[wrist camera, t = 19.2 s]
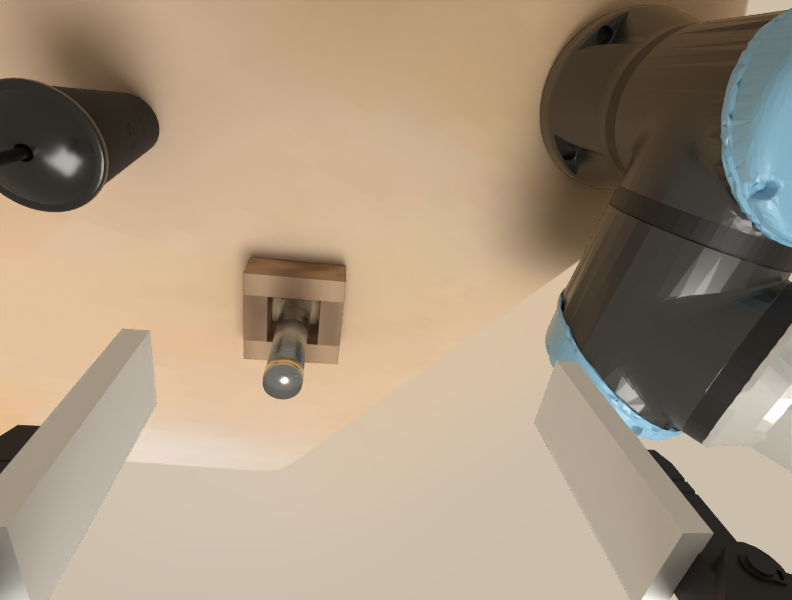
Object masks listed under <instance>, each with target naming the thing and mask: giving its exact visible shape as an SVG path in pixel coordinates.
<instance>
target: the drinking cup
mask: <svg viewBox="0 0 792 600" xmlns="http://www.w3.org/2000/svg"><path fill="white" fill-rule="evenodd" d="M158 136H159V124H158V121H157V118H156V116H155V114H154V112H153V110H152V109H151V108H150V107H149V106H148V105H147V104H146V103H145V102H144V101H143V100H141V99H140V98H138V97H136V96H134V95H131V94H126V93H117V92H107V91H97V90H87V89H77V88H67V87H57V86H50V85H47V84H45V83H42V82H39V81H35V80H31V79H24V78H5V79H0V193H1V194H3V195H4V196H6V197H7V198H9V199H11V200H12V201H14V202H16V203H18V204H21V205H23V206H26V207H29V208H32V209H35V210H40V211H45V212H65V211H71V210H74V209H77V208H79V207H82V206H84V205H85V204H87V203H89V202H90V201H92V200H93V199H94V198H95V197H96V196H97V195H98V194H99V193H100V191H101V190H102V188H103V186H104V185H105V184H106V183H107V182H108V181H110V180H111V179H112V178H114V177H115V176H116V175H117V174H119V173H120V172H121V171H122V170H124V169H125V168H126V167H128V166H129V165H130V164H131V163H133V162H134V161H135V160H137V159H138V158H139V157H140V156H142V155H143V154H144V153H145V152H147V151H148V150H149V149H151V148H152V147H153V146H154V145H155V143H156V141H157V139H158Z"/></svg>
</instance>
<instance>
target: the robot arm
mask: <svg viewBox="0 0 792 600" xmlns="http://www.w3.org/2000/svg"><path fill="white" fill-rule="evenodd" d="M540 126H541V133H542V137H543V141H544V144H545V147H546V149H547V151H548V153H549V155H550V157H551V159H552V160H553V162H554V163H555V164H556V165H557V166H558V167H559V169H560V170H562V171H563V172H564V173H565V174H567V175H568V176H570V177H571V178H573V179H575V180H577V181H579V182H581V183H583V184H586V185H588V186H591V187H595V188H599V189H607V190H616V191H615V193H614V195H613V197H612V199H611V201H610V203H609V204H608V206H607V208H606V210H605V212H604V214H603V216H602V218H601V220H600V222H599V224H598V226H597V228H596V230H595V232H594V234H593V236H592V238H591V240H590V242H589V244H588V246H587V248H586V250H585V252H584V254H583V256H582V258H581V260H580V262H579V264H578V266H577V268H576V270H575V271H574V273H573V275H572V277H571V279H570V281H569V283H568V285H567V287H566V288H565V289H564V290H563V291H562V293H561V294H560V296H559V299H558V304H557V309H556V311H555V314H554V316H553V318H552V320H551V323H550V325H549V327H548V330H547V333H546V349H547V352H548V355H549V358H550V362H551V364H552V366H553V368H554V369H553V372H552V374H551V378H550V380H549V383H548V386H547V389H546V391H545V394H544V397H543V399H542V402H541V405H540V408H539V410H538V413H537V416H536V419H535V422H534V423H535V425H536V427H537V429H538V431H539V432H540V434H541V436H542V438H543V440H544V442H545V443H546V445H547V447H548V449H549V451H550V453H551V455H552V456H553V458H554V460H555V462H556V464H557V465H558V467H559V469H560V471H561V473H562V475H563V477H564V478H565V480H566V482H567V484H568V486H569V488H570V489H571V491H572V493H573V495H574V497H575V499H576V501H577V502H578V504H579V506H580V508H581V510H582V512H583V514H584V515H585V517H586V519H587V521H588V523H589V525H590V527H591V528H592V530H593V532H594V534H595V536H596V538H597V539H598V541H599V543H600V545H601V547H602V549H603V550H604V552H605V554H606V556H607V558H608V560H609V561H610V563H611V565H612V567H613V569H614V571H615V573H616V574H617V576H618V578H619V580H620V582H621V584H622V586H623V587H624V589H625V591H626V593H627V595H628V597H629V598H630V600H670V598H671V597H672V595H673V594H674V593H675V595H676V597H677V598H678V600H792V574H789V573H786V572H785V571H784V569H783V568H782V567H781V566H780V565H779V564H778V563H777V562H776V561H775V560H774V559H773V558H771V557H770V556H769V555H768V554H766V553H764V552H763V551H761V550H760V549H758V548H756V547H754V546H752V545H749V544H746V543H744V542H737V541H736V540H735V539H734V538H733V536H732V535H731V534H730V533H729V532H728V531H727V529H726V528H725V527H724V526H723V524H722V523H721V522H720V521H719V520H718V518H717V517H716V516H715V515H714V514H713V512H712V511H711V510H710V509H709V508H708V506H707V505H706V504H705V503H704V502H703V500H702V499H701V498H700V497H699V496H698V495H696V494H695V491H694V490H693V488H692V487H691V486H690V485H689V484H688V483H687V482H685V481H684V478H683V476H682V475H681V474H680V473H679V472H678V470H677V469H676V468H675V467H674V466H673V464H672V463H670V462H669V461H668V460H666V459H665V458H664V457H663V456H661V455H660V454H659V453H657V452H656V451H655V450H647V449H646V448H645V447H644V445H643V444H642V443H641V442H640V441H639V439H638V438H637V437H636V435H637V436H639V437H642V438H646V439H650V440H667V439H670V438H672V437H673V436H677V435H679V434H680V433H682V432H684V433H686V434H687V435H689V436H690V437H692V438H693V439H695V440H696V441H698V442H700V443H701V444H703V445H704V446H706V447H719V446H737V445H741V446H747V447H752V448H753V449H755V450H756V451H758V452H760V453H761V454H763V455H765V456H766V457H768V458H769V459H771V460H773V461H774V462H776V463H778V464H779V465H781V466H783V467H784V468H786V469H787V470H789V471H791V472H792V282H790V281H789V280H788V278H789V276H790V274H791V273H792V8H791V9H789V10H784V11H777V12H770V13H763V14H757V15H749V16H742V17H735V18H728V19H721V20H714V21H707V22H701V21H699V20H697V19H695V18H693V17H691V16H689V15H687V14H685V13H683V12H681V11H679V10H676V9H674V8H670V7H666V6H660V5H641V6H635V7H630V8H625V9H621V10H617V11H614V12H611V13H609V14H606V15H604V16H602V17H600V18H598V19H596V20H595V21H593V22H592V23H590V24H589V25H587V26H586V27H585V28H584V29H582V30H581V31H580V32H579V33H578V34H577V35H576V36H575V37H574V38H573V39H572V40H571V41H570V42H569V43H568V44H567V46H566V47H565V48H564V49H563V51H562V52H561V54H560V55H559V57H558V58H557V60H556V62H555V63H554V65H553V67H552V69H551V71H550V74H549V76H548V78H547V81H546V84H545V87H544V91H543V95H542V100H541V108H540ZM156 404H157V402H156V391H155V380H154V369H153V358H152V347H151V336H150V331H146V330H133V329H122V330H121V331H120V332H119V333H118V335H117V336H116V337H115V338H114V339H113V341H112V342H111V343H110V344H109V345H108V346H107V348H106V349H105V350H104V351H103V352H102V354H101V355H100V356H99V357H98V358H97V360H96V361H95V362H94V363H93V364H92V365H91V367H90V368H89V369H88V370H87V371H86V373H85V374H84V375H83V376H82V377H81V379H80V380H79V381H78V382H77V383H76V385H75V386H74V387H73V388H72V389H71V390H70V392H69V393H68V394H67V395H66V396H65V398H64V399H63V400H62V401H61V402H60V404H59V405H58V406H57V407H56V408H55V410H54V411H53V412H52V413H51V414H50V415H49V417H48V418H47V419H46V420H45V421H44V423H43V424H42V425H41V426H29V425H17V426H16V427H14V428H12V429H11V430H9V431H8V432H6V433H4V434H3V435H1V436H0V600H49V598H50V597H51V595H52V593H53V591H54V589H55V587H56V586H57V584H58V582H59V580H60V578H61V576H62V575H63V573H64V571H65V569H66V568H67V566H68V564H69V562H70V560H71V558H72V557H73V555H74V553H75V551H76V549H77V548H78V546H79V544H80V542H81V540H82V538H83V537H84V535H85V533H86V531H87V529H88V527H89V526H90V524H91V522H92V520H93V519H94V517H95V515H96V513H97V511H98V509H99V508H100V506H101V504H102V502H103V500H104V499H105V497H106V495H107V493H108V491H109V489H110V488H111V486H112V484H113V482H114V480H115V479H116V477H117V475H118V473H119V471H120V469H121V468H122V466H123V464H124V462H125V460H126V459H127V457H128V455H129V453H130V451H131V449H132V448H133V446H134V444H135V442H136V440H137V439H138V437H139V435H140V433H141V431H142V430H143V428H144V426H145V424H146V422H147V420H148V419H149V417H150V415H151V413H152V411H153V410H154V408H155V406H156ZM632 431H633V432H634V433H635V434H636V435H635V434H634V433H633V432H632Z"/></svg>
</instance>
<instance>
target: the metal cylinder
mask: <svg viewBox="0 0 792 600" xmlns="http://www.w3.org/2000/svg"><path fill="white" fill-rule="evenodd" d="M311 306H312V301H311V300H305V299H292V298H283V302H282V306H281V310H280V314H279V318H278V322H277V326H276V330H275V334H274V338H273V342H272V346H271V350H270V354H269V358H268V362H267V366H266V368H265V372H264V376H263V388H264V390H265V391H266V393H267V394H269V395H270V396H272V397H274V398H277V399H289V398H292V397H294V396H295V395H297V394H298V393H299V391H300V390H301V387H302V384H303V376H304V363H305V355H306V347H307V339H308V330H309V322H310V314H311Z"/></svg>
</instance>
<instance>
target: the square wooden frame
mask: <svg viewBox="0 0 792 600" xmlns="http://www.w3.org/2000/svg"><path fill="white" fill-rule="evenodd" d="M345 286H346V266H341V265H330V264H319V263H308V262H297V261H286V260H275V259H264V258H253V257H251V258H250V260H249V262H248V265H247V267H246V269H245V271H244V273H243V320H244V359H254V360H268V358H269V354H270V350H271V346H272V342H273V338H274V334H275V330H276V326H277V322H272V302H273V297H279V298H292V299H305V300H317V301H321V306H320V319H319V325H309V330H308V339H307V347H306V355H305V362H307V363H325V364H338V355H339V345H340V335H341V326H342V316H343V306H344V296H345Z"/></svg>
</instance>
